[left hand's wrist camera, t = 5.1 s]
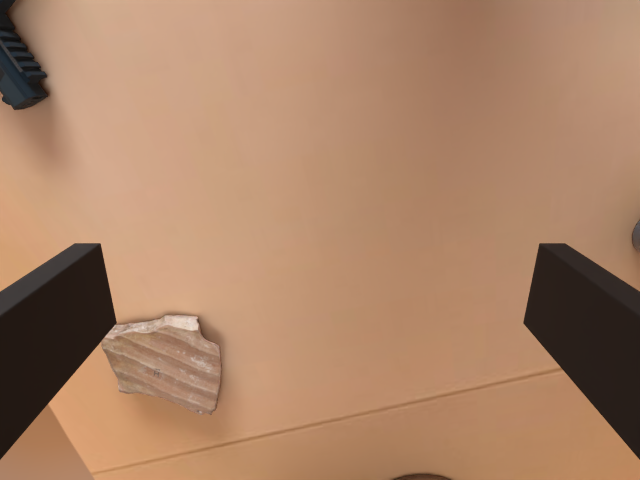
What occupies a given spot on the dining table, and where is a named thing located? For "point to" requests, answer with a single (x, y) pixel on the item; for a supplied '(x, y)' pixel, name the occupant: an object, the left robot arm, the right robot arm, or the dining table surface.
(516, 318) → the dining table surface
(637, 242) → the grey tall cylinder
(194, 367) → the stone
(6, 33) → the handgun
